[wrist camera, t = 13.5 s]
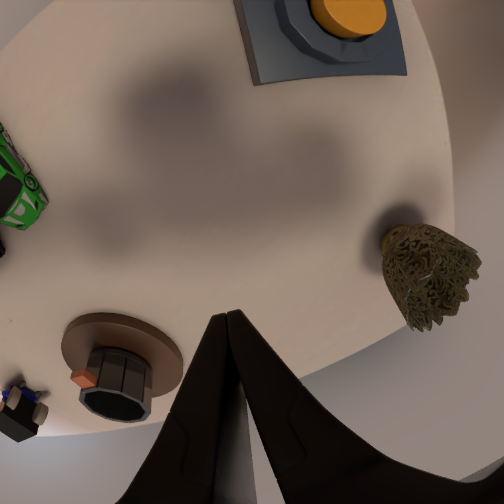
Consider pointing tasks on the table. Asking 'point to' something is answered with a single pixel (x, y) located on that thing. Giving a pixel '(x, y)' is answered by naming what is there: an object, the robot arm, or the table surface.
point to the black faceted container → (115, 386)
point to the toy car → (17, 188)
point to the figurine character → (21, 413)
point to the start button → (349, 16)
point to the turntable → (124, 346)
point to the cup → (427, 272)
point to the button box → (313, 44)
